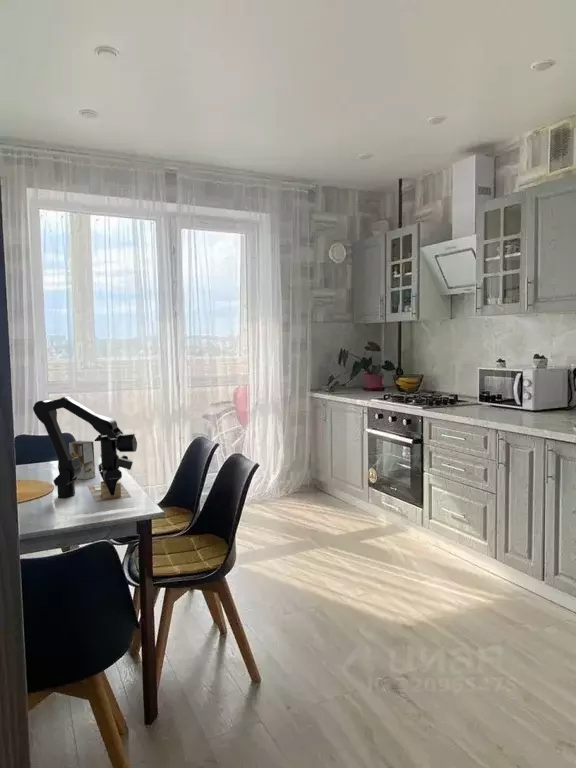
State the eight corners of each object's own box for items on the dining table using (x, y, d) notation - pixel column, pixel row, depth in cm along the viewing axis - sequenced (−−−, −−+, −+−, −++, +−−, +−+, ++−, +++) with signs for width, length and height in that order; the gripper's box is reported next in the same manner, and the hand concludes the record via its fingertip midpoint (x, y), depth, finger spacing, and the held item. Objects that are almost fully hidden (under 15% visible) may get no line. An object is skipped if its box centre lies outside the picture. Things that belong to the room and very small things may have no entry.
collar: (121, 495, 216) (120, 483, 216) (103, 498, 214) (102, 485, 213) (118, 492, 222) (117, 479, 222) (101, 494, 220) (100, 481, 219)
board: (131, 500, 215) (130, 483, 214) (95, 505, 209) (94, 487, 209) (120, 484, 240) (119, 469, 239) (87, 488, 234) (86, 472, 234)
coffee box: (96, 476, 256) (94, 441, 254) (85, 480, 250) (83, 443, 249) (81, 475, 260) (79, 440, 259) (70, 478, 254) (68, 442, 253)
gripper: (134, 454, 212) (136, 495, 213) (126, 446, 229) (128, 484, 230) (103, 457, 207) (105, 499, 208) (97, 449, 224) (99, 488, 225)
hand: (110, 492), depth 218 cm, fingers open, 9 cm apart
